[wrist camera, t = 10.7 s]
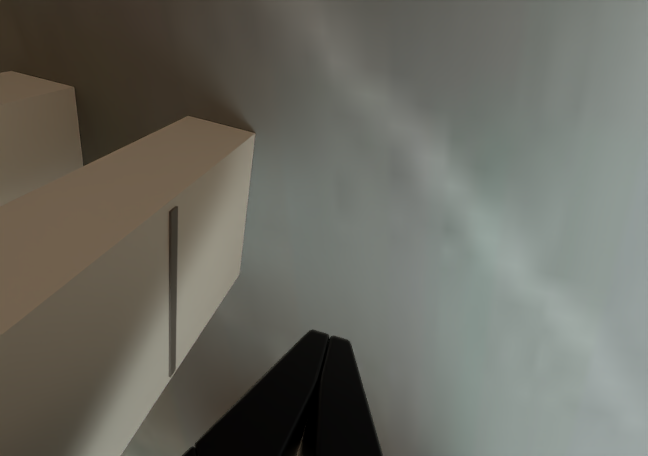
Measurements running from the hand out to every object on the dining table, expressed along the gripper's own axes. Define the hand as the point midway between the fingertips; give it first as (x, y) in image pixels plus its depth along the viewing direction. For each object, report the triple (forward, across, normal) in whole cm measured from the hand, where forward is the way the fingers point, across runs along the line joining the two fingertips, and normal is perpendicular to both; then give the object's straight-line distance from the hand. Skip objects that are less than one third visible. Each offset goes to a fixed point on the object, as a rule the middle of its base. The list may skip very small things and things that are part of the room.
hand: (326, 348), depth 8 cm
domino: (+5, +4, 0) cm, 6 cm away
